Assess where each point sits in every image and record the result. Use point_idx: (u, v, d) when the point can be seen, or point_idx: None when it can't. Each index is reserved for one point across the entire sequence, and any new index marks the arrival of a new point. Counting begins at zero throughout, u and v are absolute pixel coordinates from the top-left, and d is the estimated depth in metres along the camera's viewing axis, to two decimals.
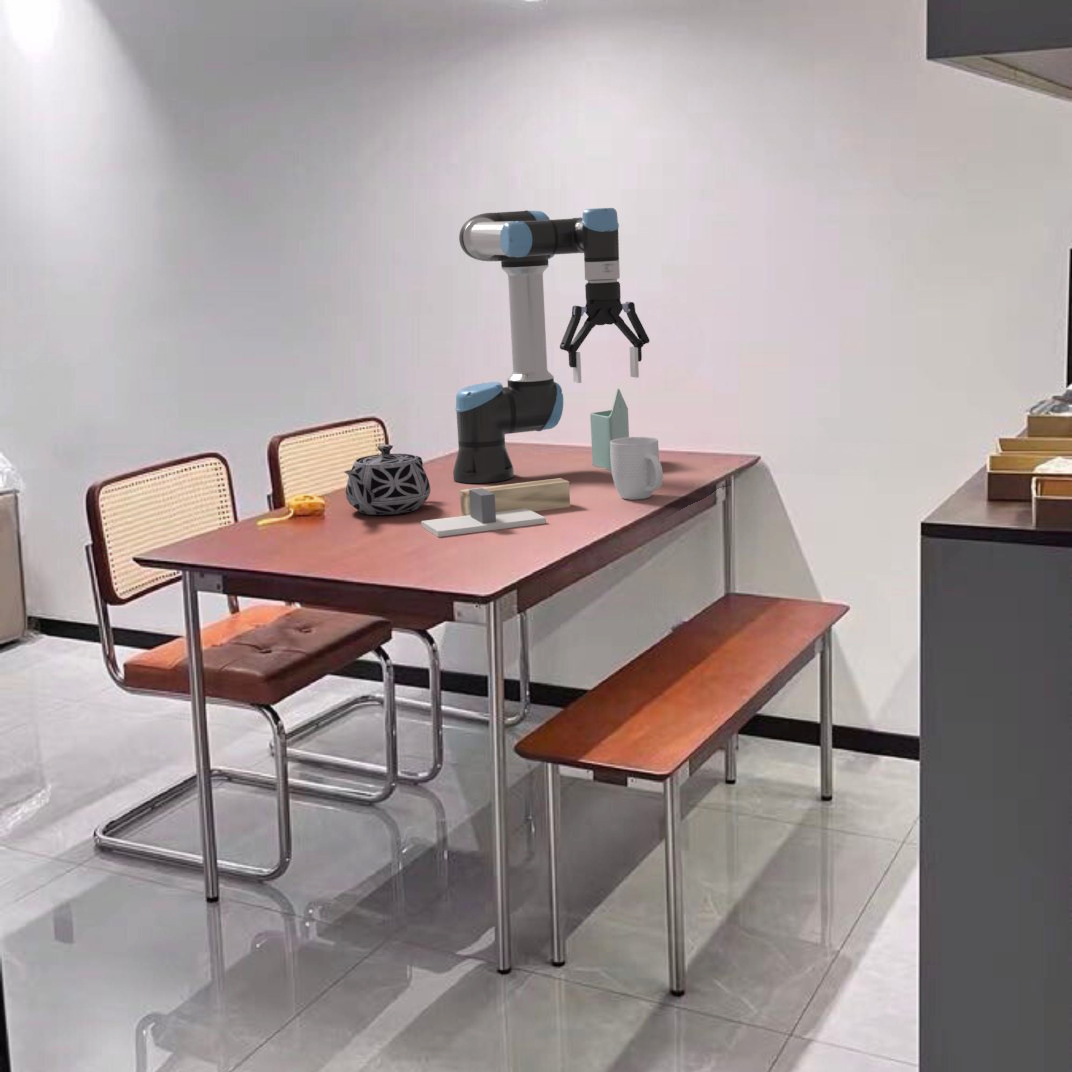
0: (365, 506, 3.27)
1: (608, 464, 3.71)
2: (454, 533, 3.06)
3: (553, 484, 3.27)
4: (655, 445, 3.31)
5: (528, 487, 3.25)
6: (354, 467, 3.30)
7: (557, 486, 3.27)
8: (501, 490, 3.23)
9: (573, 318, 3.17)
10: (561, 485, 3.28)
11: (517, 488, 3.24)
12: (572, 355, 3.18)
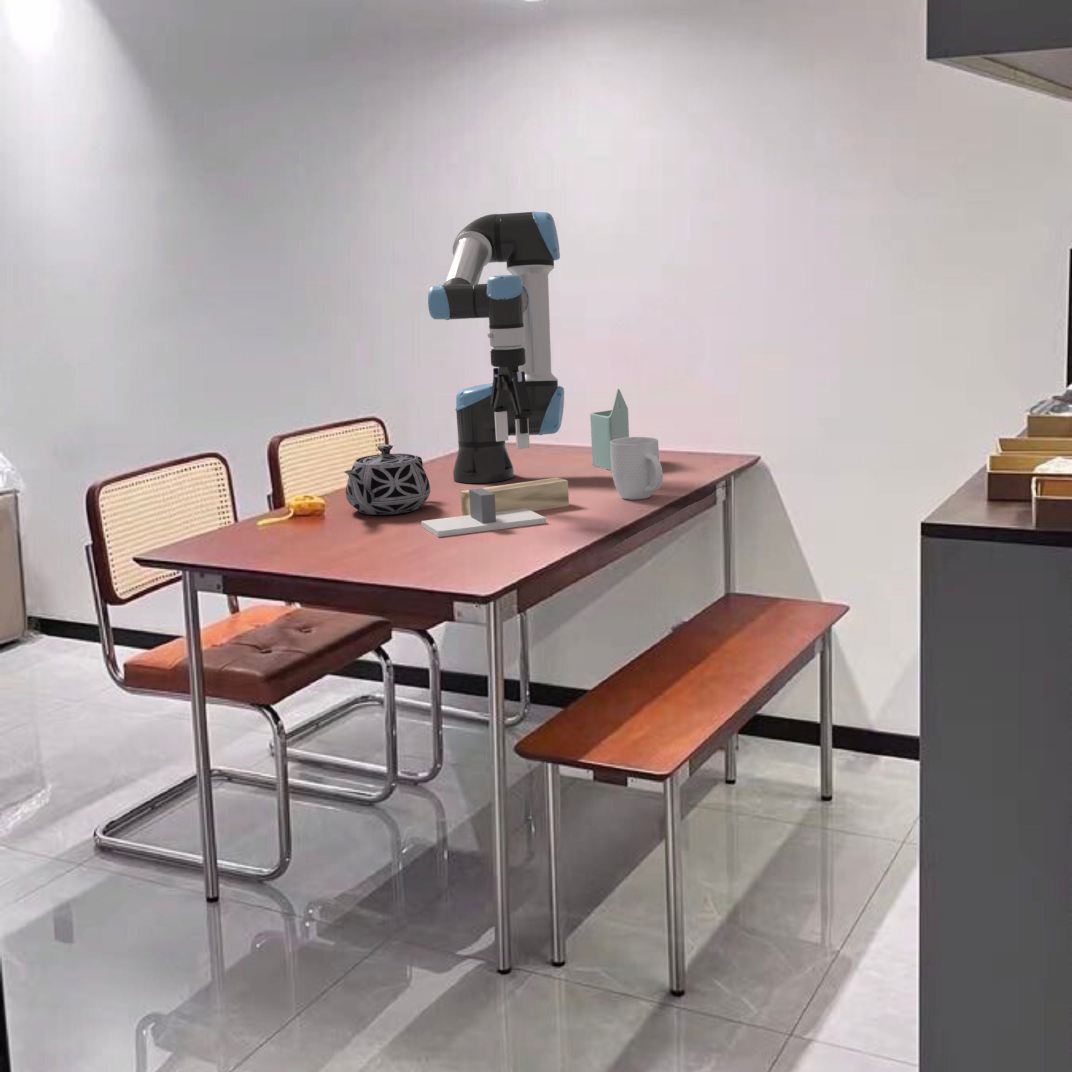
0: (365, 506, 3.27)
1: (608, 464, 3.71)
2: (454, 533, 3.06)
3: (552, 483, 3.28)
4: (655, 445, 3.31)
5: (529, 487, 3.25)
6: (354, 467, 3.30)
7: (556, 485, 3.28)
8: (503, 490, 3.22)
9: None
10: (560, 485, 3.29)
11: (518, 488, 3.24)
12: None
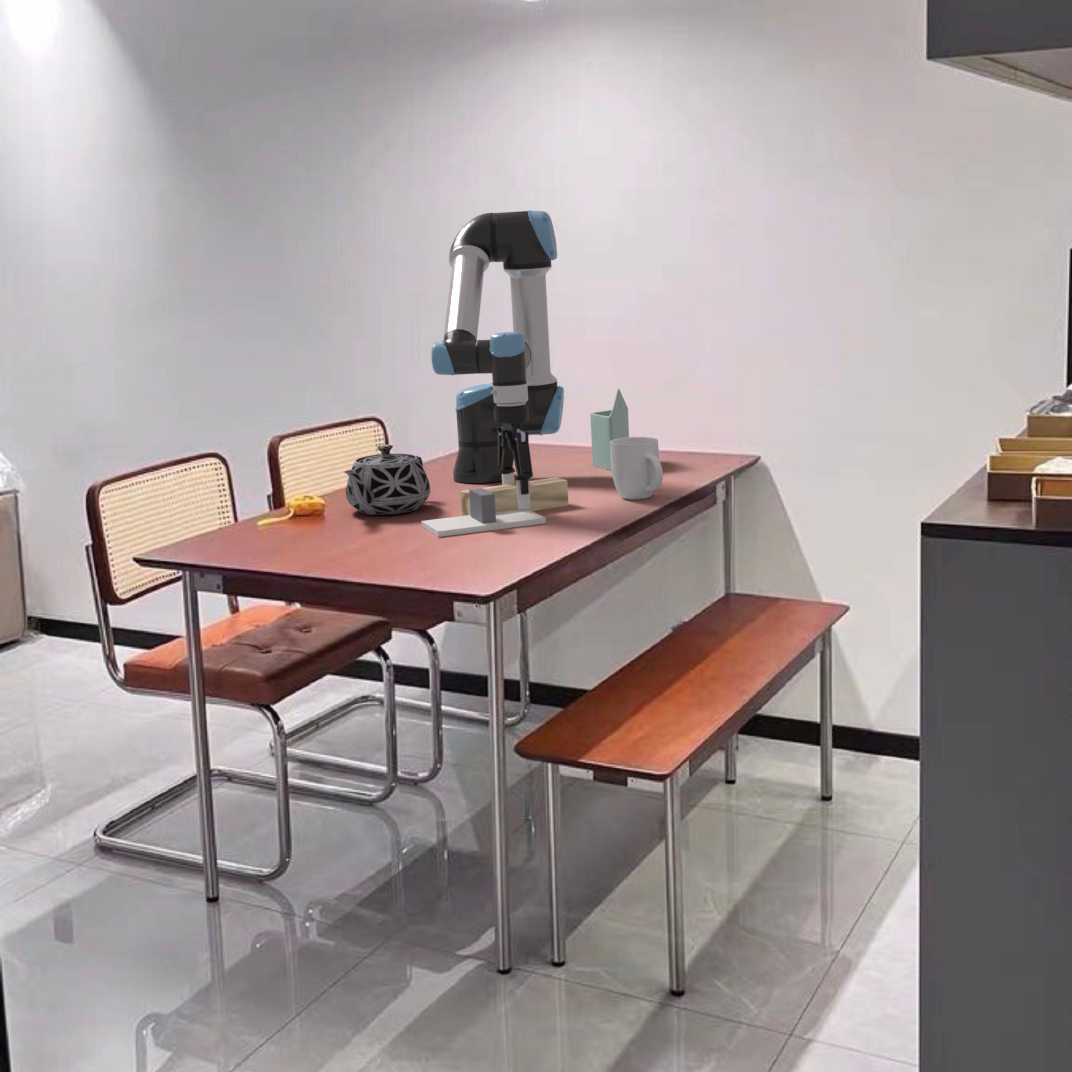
0: (365, 506, 3.27)
1: (608, 464, 3.71)
2: (454, 533, 3.06)
3: (552, 483, 3.28)
4: (655, 445, 3.31)
5: None
6: (354, 467, 3.30)
7: (556, 485, 3.28)
8: (503, 490, 3.22)
9: None
10: (560, 484, 3.29)
11: None
12: None
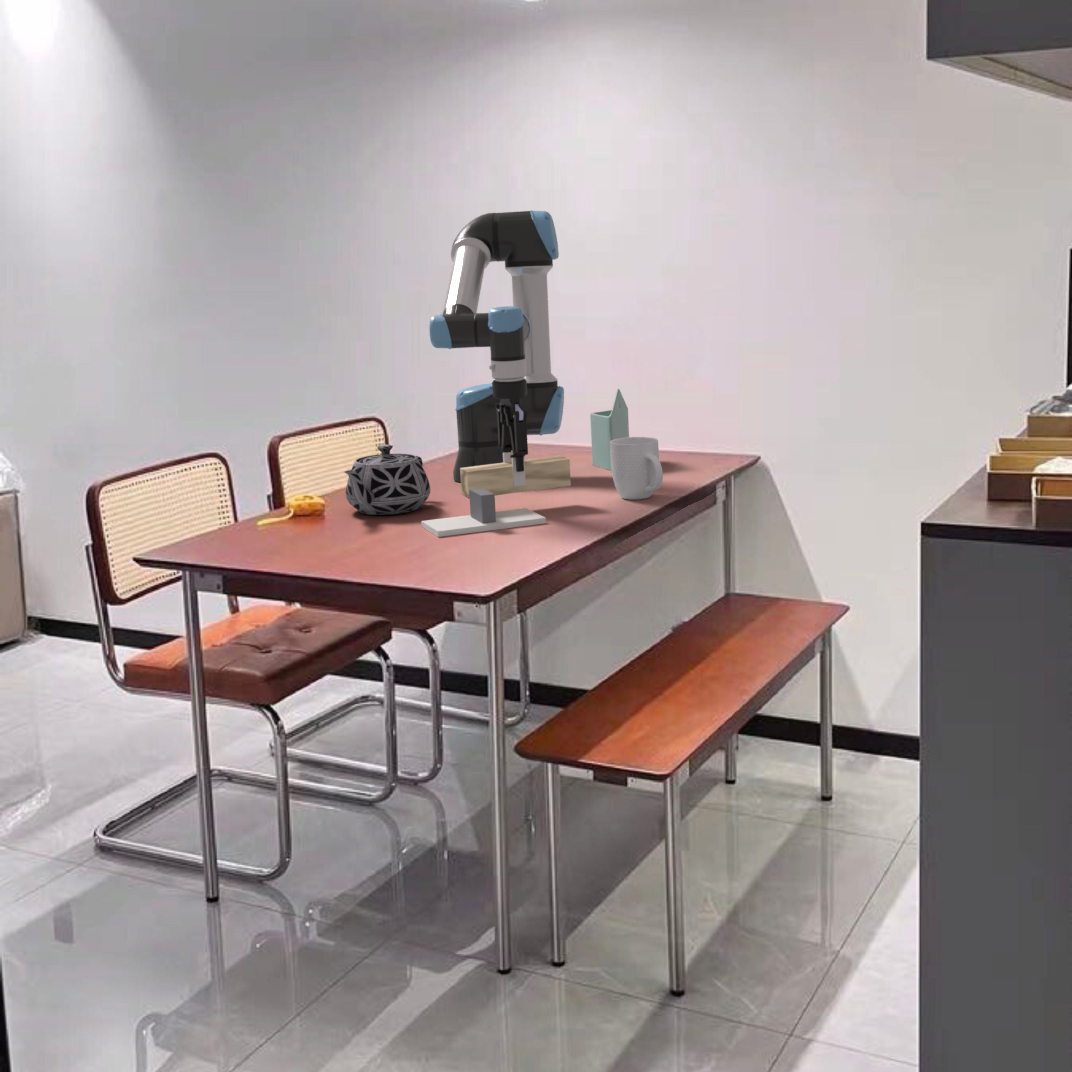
0: (365, 506, 3.27)
1: (608, 464, 3.71)
2: (454, 533, 3.06)
3: (553, 462, 3.26)
4: (655, 445, 3.31)
5: (528, 465, 3.24)
6: (354, 467, 3.30)
7: (557, 464, 3.27)
8: (501, 468, 3.22)
9: None
10: (562, 463, 3.27)
11: None
12: None
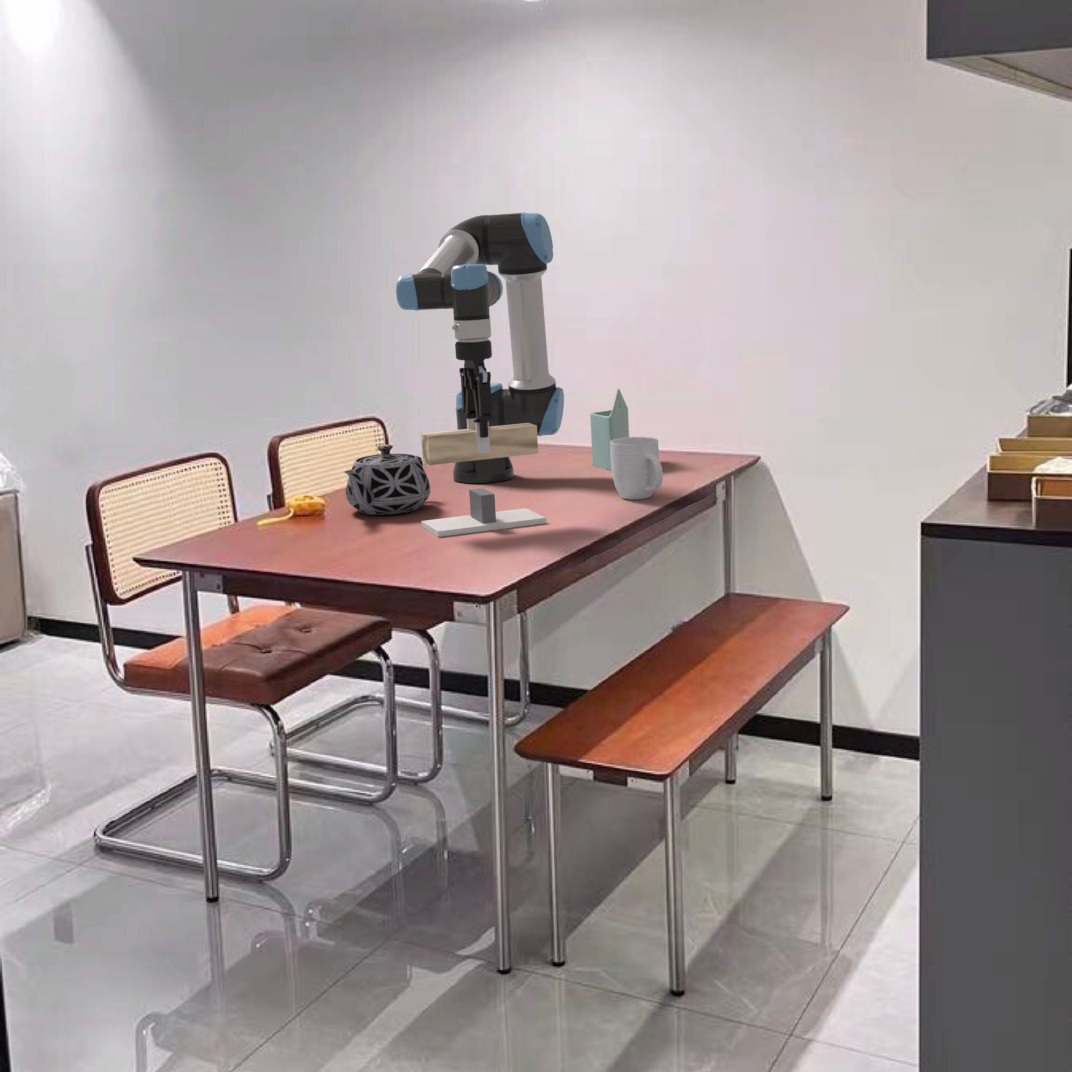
0: (365, 506, 3.27)
1: (608, 464, 3.71)
2: (454, 533, 3.06)
3: (520, 428, 3.11)
4: (655, 445, 3.31)
5: (493, 431, 3.09)
6: (354, 467, 3.30)
7: (524, 430, 3.11)
8: (464, 433, 3.07)
9: None
10: (529, 430, 3.11)
11: None
12: None
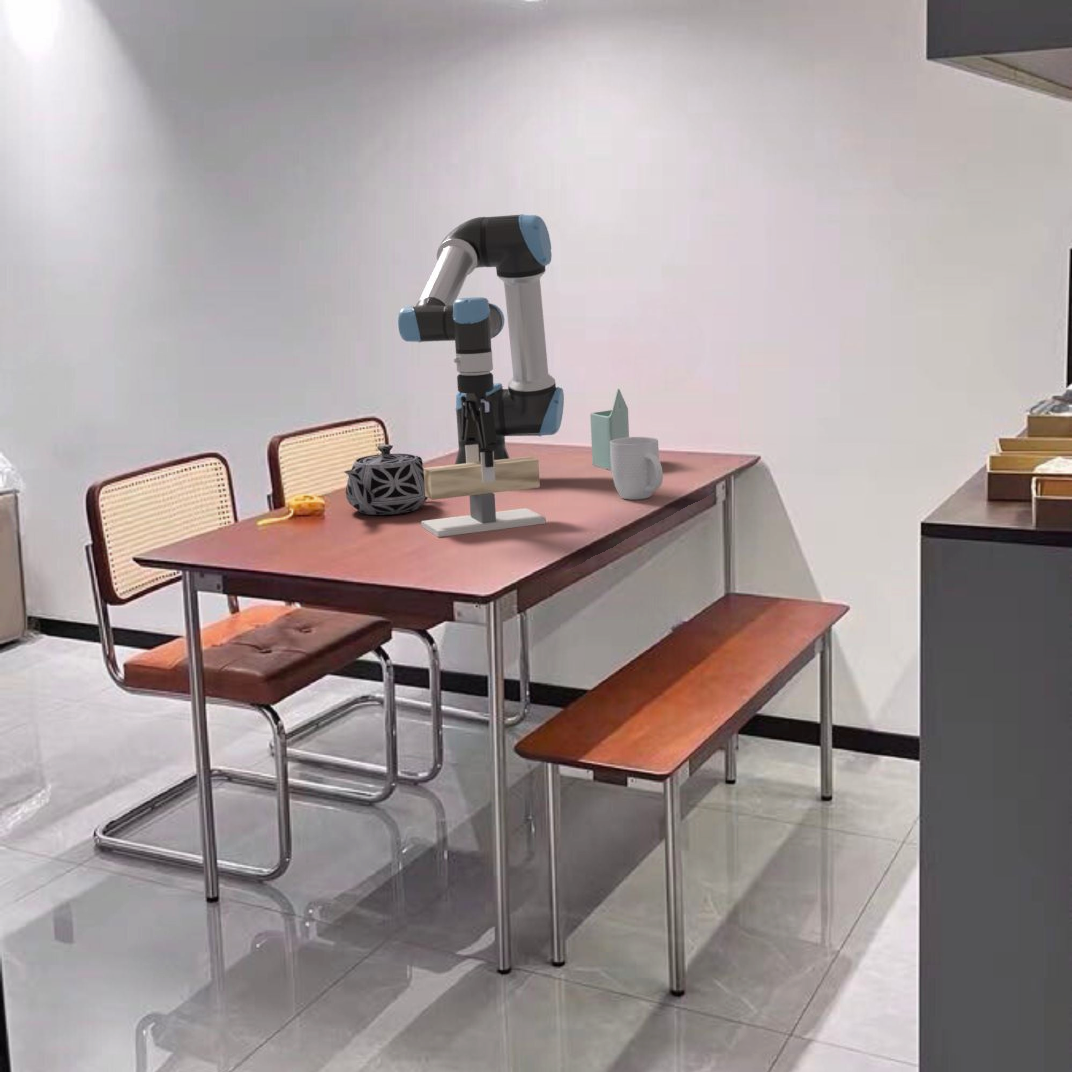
0: (365, 506, 3.27)
1: (608, 464, 3.71)
2: (454, 533, 3.06)
3: (521, 462, 3.12)
4: (655, 445, 3.31)
5: (495, 465, 3.10)
6: (354, 467, 3.30)
7: (526, 464, 3.13)
8: (466, 468, 3.08)
9: None
10: (530, 463, 3.13)
11: None
12: None
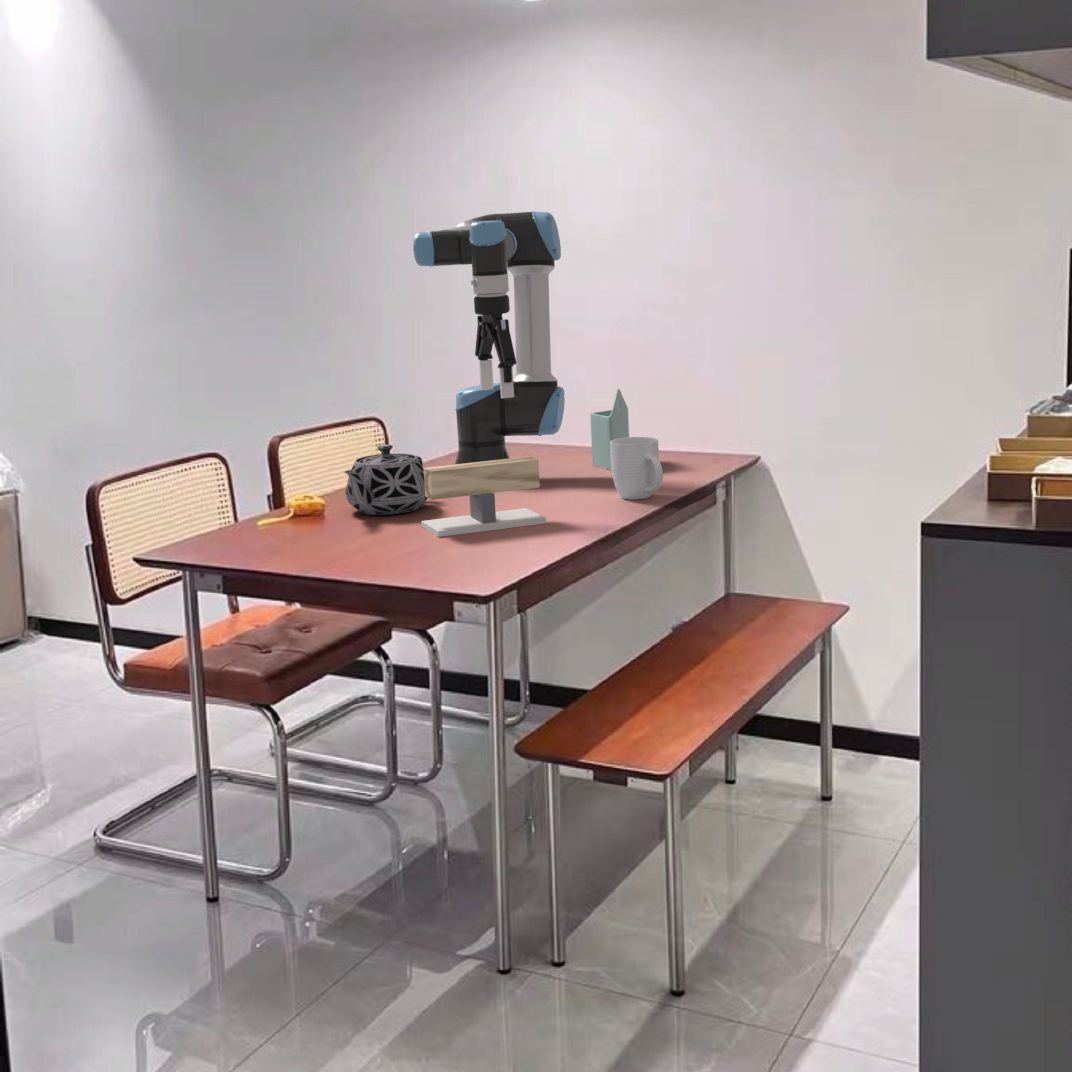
0: (365, 506, 3.27)
1: (608, 464, 3.71)
2: (454, 533, 3.06)
3: (521, 462, 3.12)
4: (655, 445, 3.31)
5: (495, 465, 3.10)
6: (354, 467, 3.30)
7: (526, 464, 3.13)
8: (466, 468, 3.08)
9: None
10: (530, 463, 3.13)
11: (483, 466, 3.10)
12: None
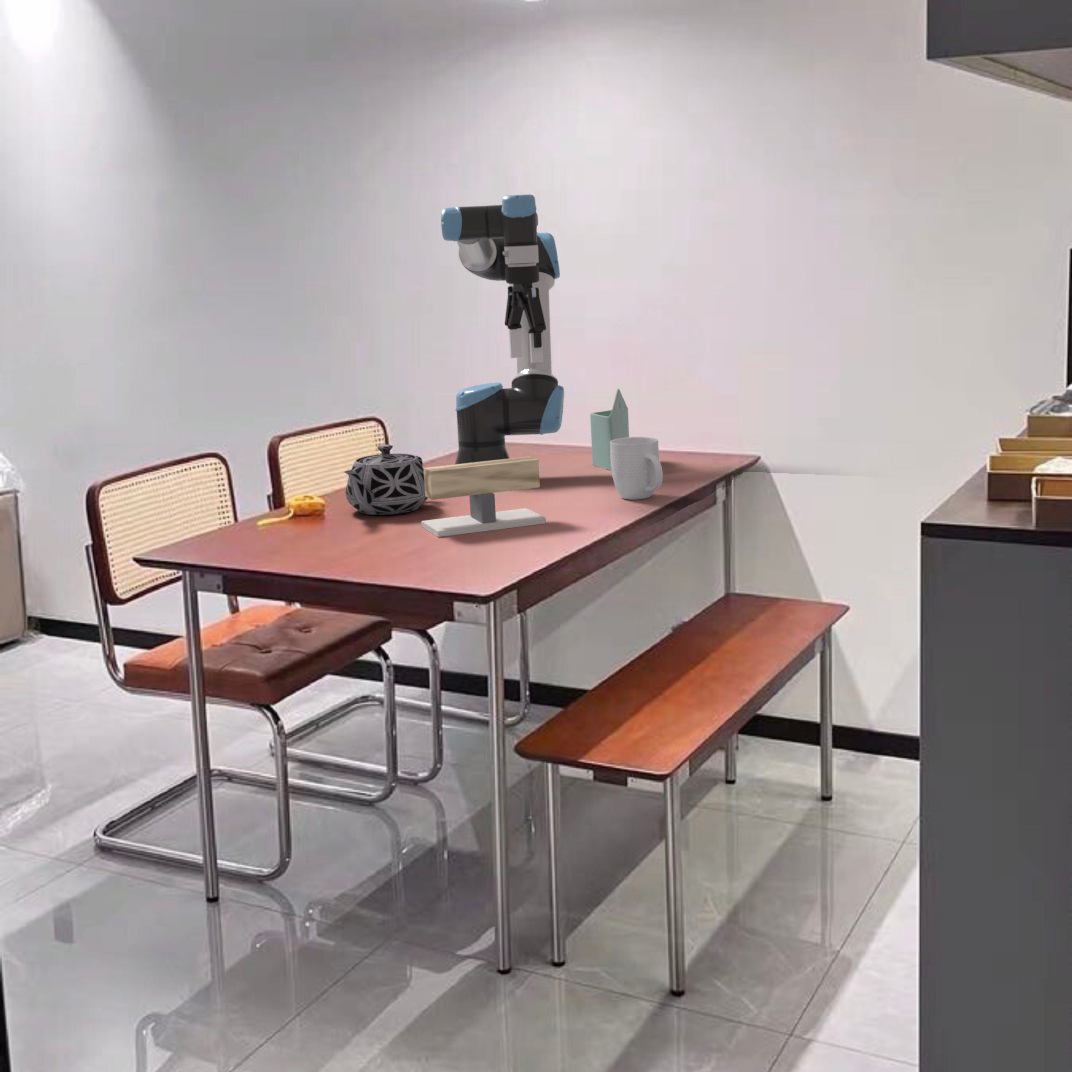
0: (365, 506, 3.27)
1: (608, 464, 3.71)
2: (454, 533, 3.06)
3: (521, 462, 3.12)
4: (655, 445, 3.31)
5: (495, 465, 3.10)
6: (354, 467, 3.30)
7: (526, 464, 3.13)
8: (466, 468, 3.08)
9: None
10: (530, 463, 3.13)
11: (483, 466, 3.10)
12: None
